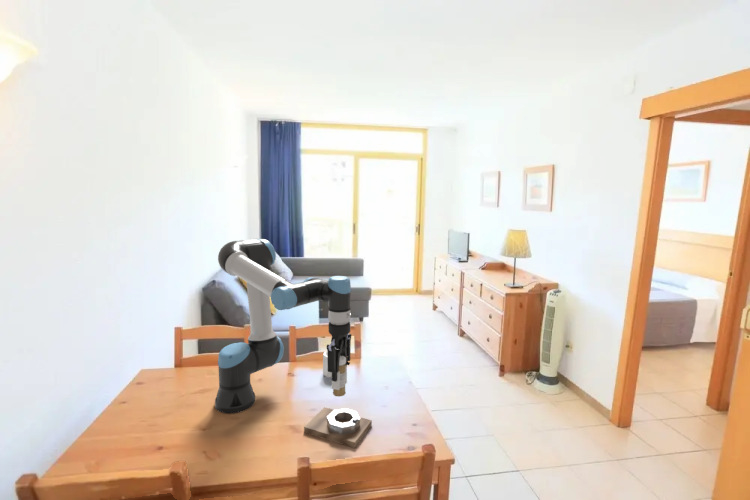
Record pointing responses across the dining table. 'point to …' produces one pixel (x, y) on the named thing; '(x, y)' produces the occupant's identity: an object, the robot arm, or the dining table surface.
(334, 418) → the ring
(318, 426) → the block
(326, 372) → the mug
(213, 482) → the dining table surface
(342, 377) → the sprinkles bottle
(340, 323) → the robot arm
